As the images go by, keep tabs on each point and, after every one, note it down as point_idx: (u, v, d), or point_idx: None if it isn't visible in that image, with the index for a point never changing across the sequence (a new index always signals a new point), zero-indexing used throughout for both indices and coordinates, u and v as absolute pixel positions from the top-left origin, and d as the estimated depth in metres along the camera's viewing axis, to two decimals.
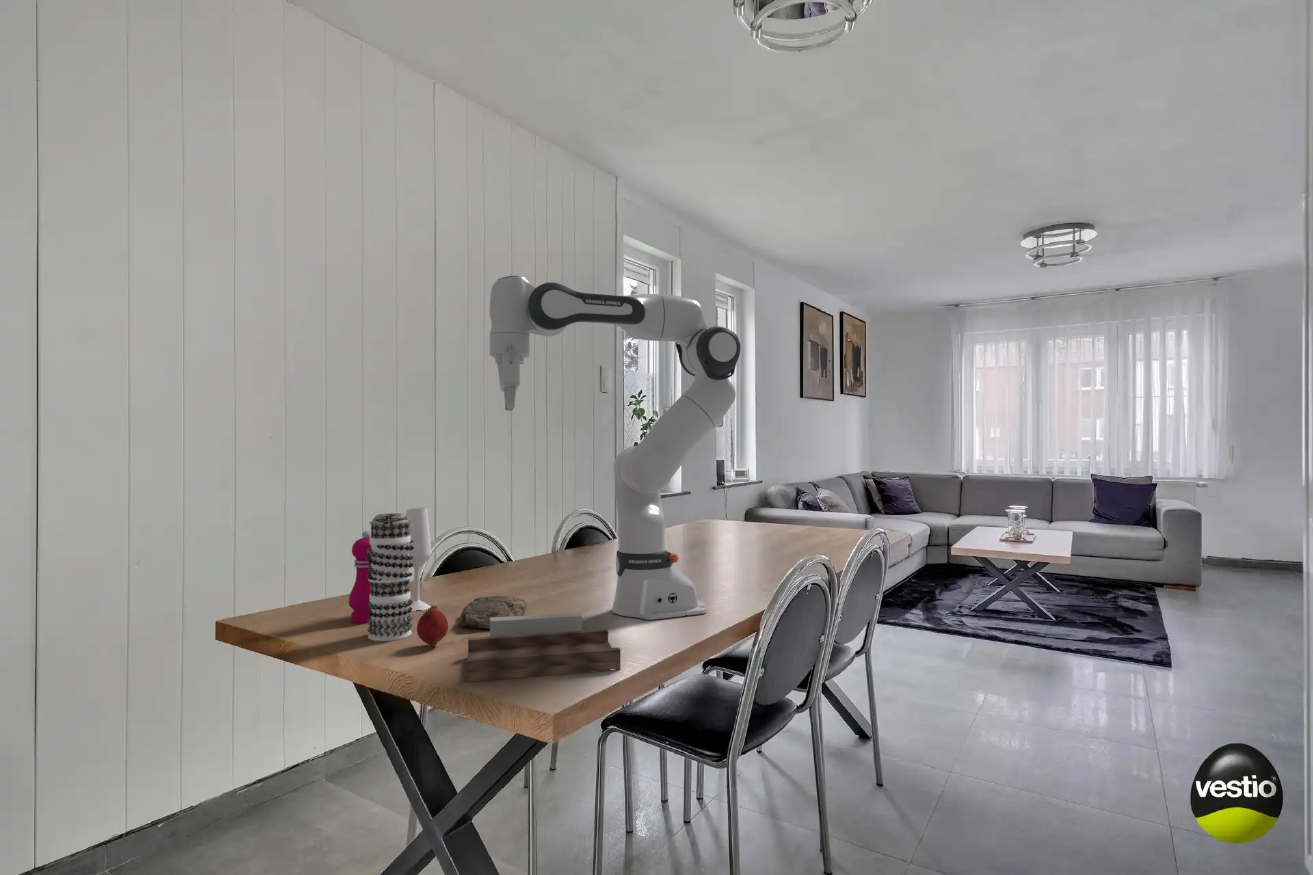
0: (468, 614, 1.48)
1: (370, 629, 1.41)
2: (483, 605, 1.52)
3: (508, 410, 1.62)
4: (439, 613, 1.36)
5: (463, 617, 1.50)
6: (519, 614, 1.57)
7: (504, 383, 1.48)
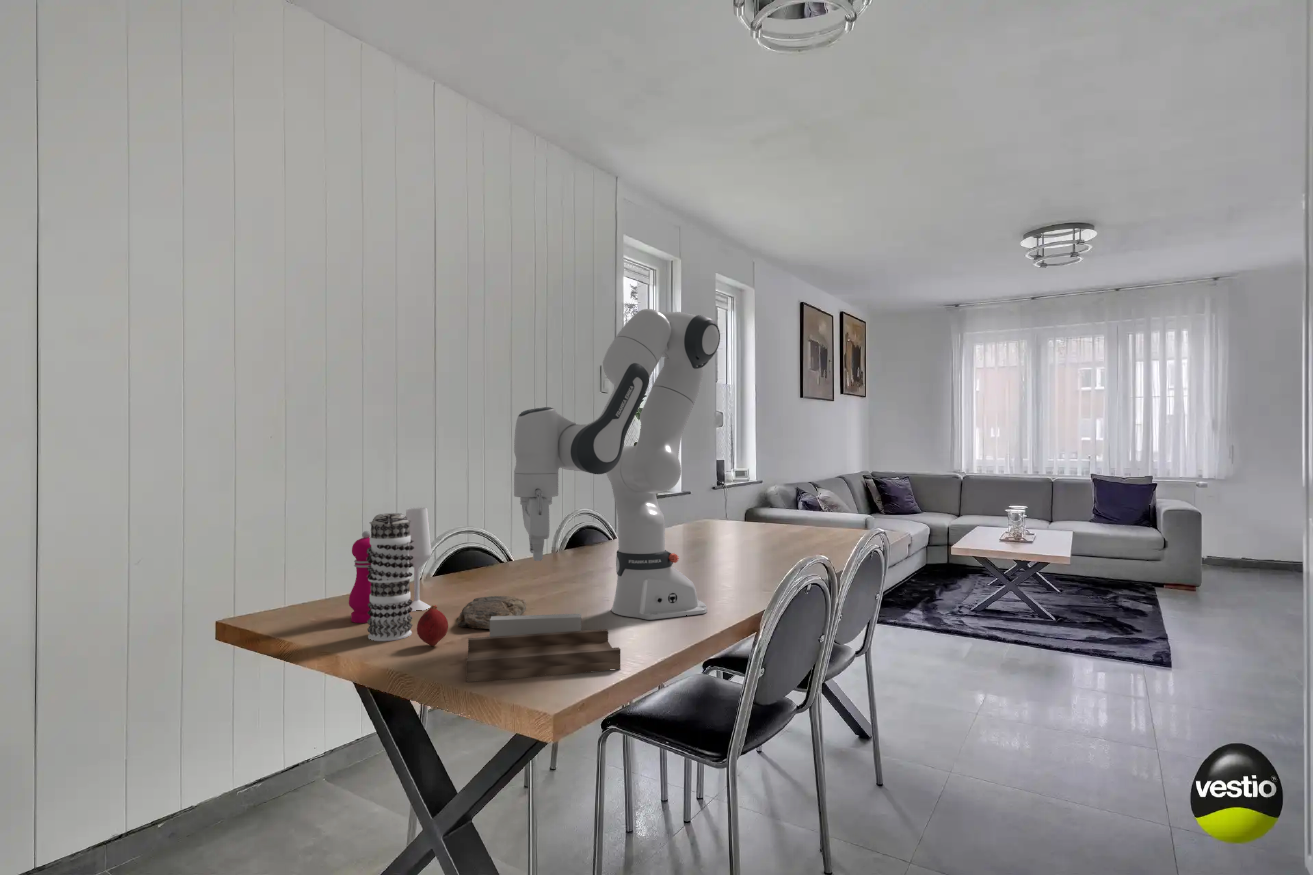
0: (467, 614, 1.48)
1: (370, 629, 1.41)
2: (482, 605, 1.52)
3: None
4: (439, 613, 1.36)
5: (462, 617, 1.50)
6: (518, 614, 1.57)
7: (532, 537, 1.31)
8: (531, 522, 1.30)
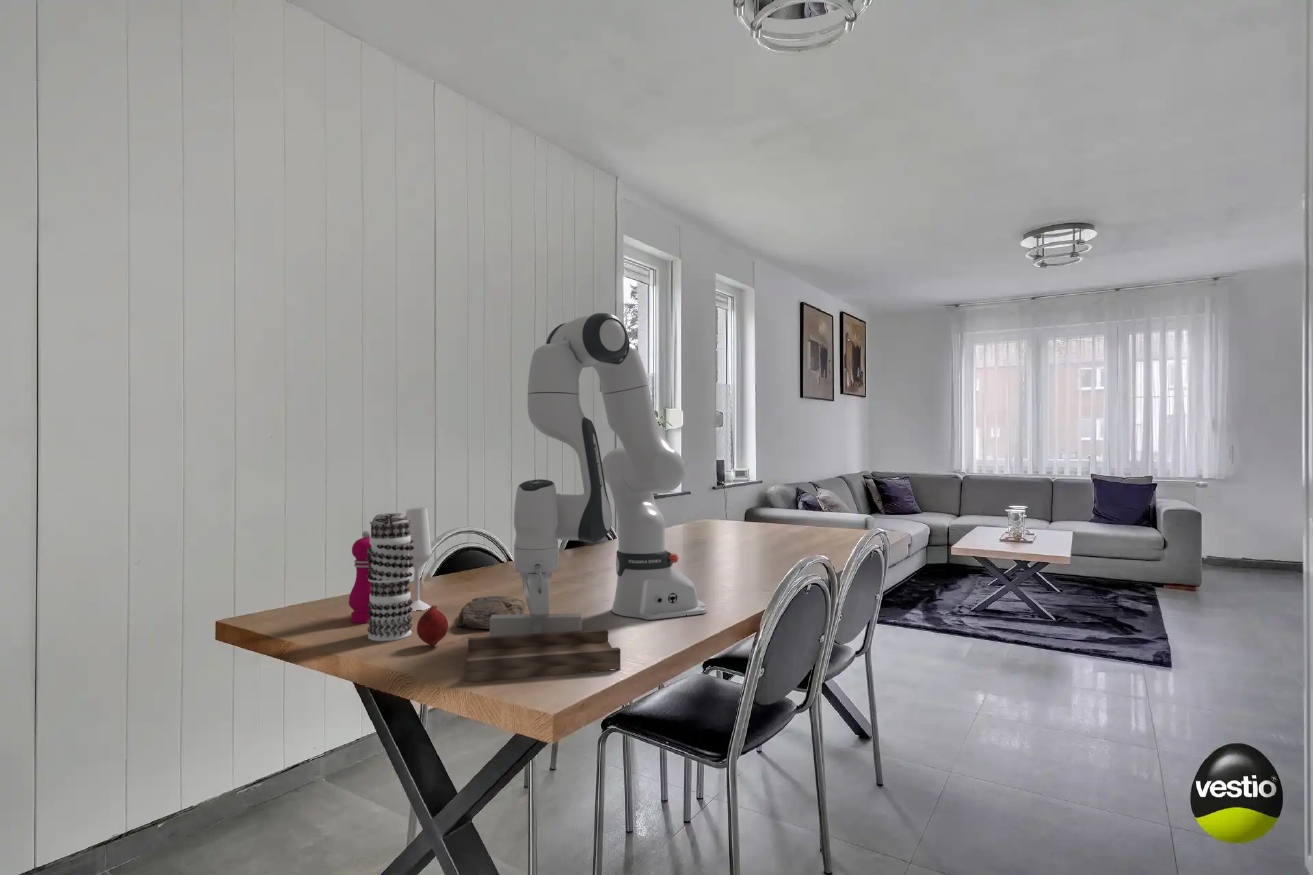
0: (465, 614, 1.48)
1: (370, 629, 1.41)
2: (481, 605, 1.52)
3: None
4: (439, 613, 1.36)
5: (461, 617, 1.50)
6: None
7: (532, 616, 1.30)
8: (531, 601, 1.30)
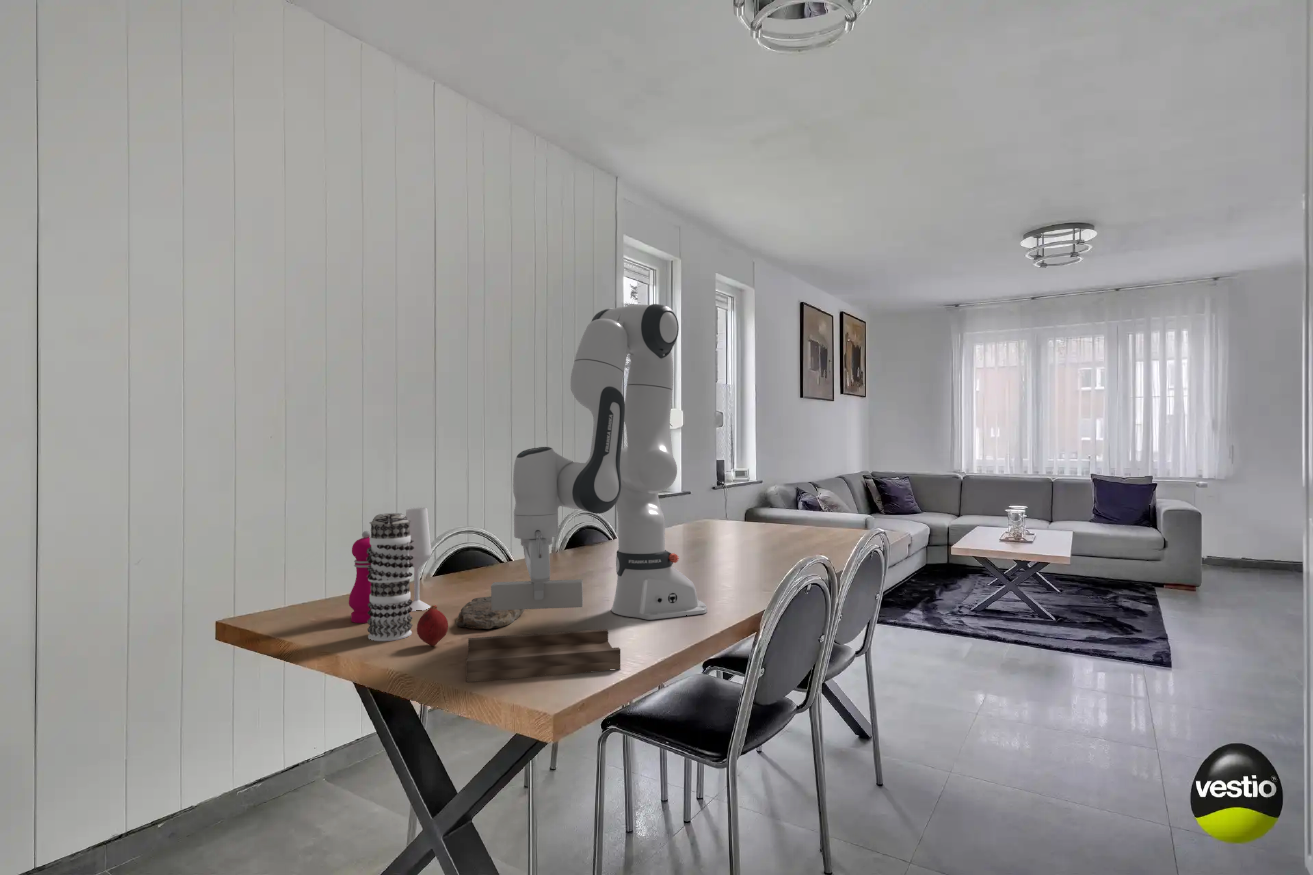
0: (466, 614, 1.48)
1: (370, 629, 1.41)
2: (481, 605, 1.52)
3: None
4: (439, 613, 1.36)
5: (461, 617, 1.50)
6: (517, 614, 1.57)
7: (533, 580, 1.31)
8: (531, 566, 1.31)
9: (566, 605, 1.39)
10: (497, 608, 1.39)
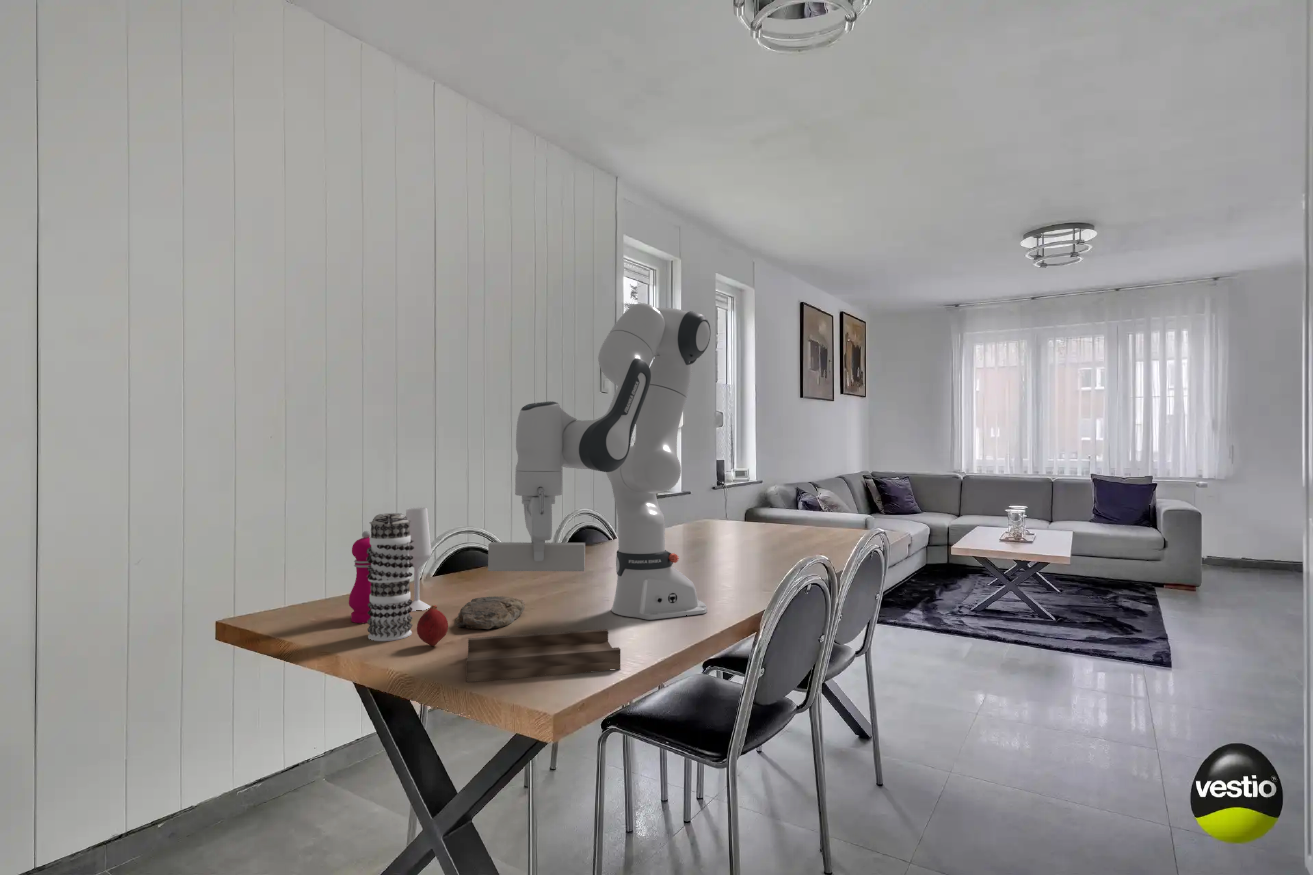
0: (465, 614, 1.47)
1: (370, 629, 1.41)
2: (480, 605, 1.52)
3: None
4: (439, 613, 1.36)
5: (460, 617, 1.50)
6: (516, 614, 1.57)
7: (533, 538, 1.23)
8: (532, 522, 1.23)
9: (567, 568, 1.32)
10: (494, 569, 1.31)
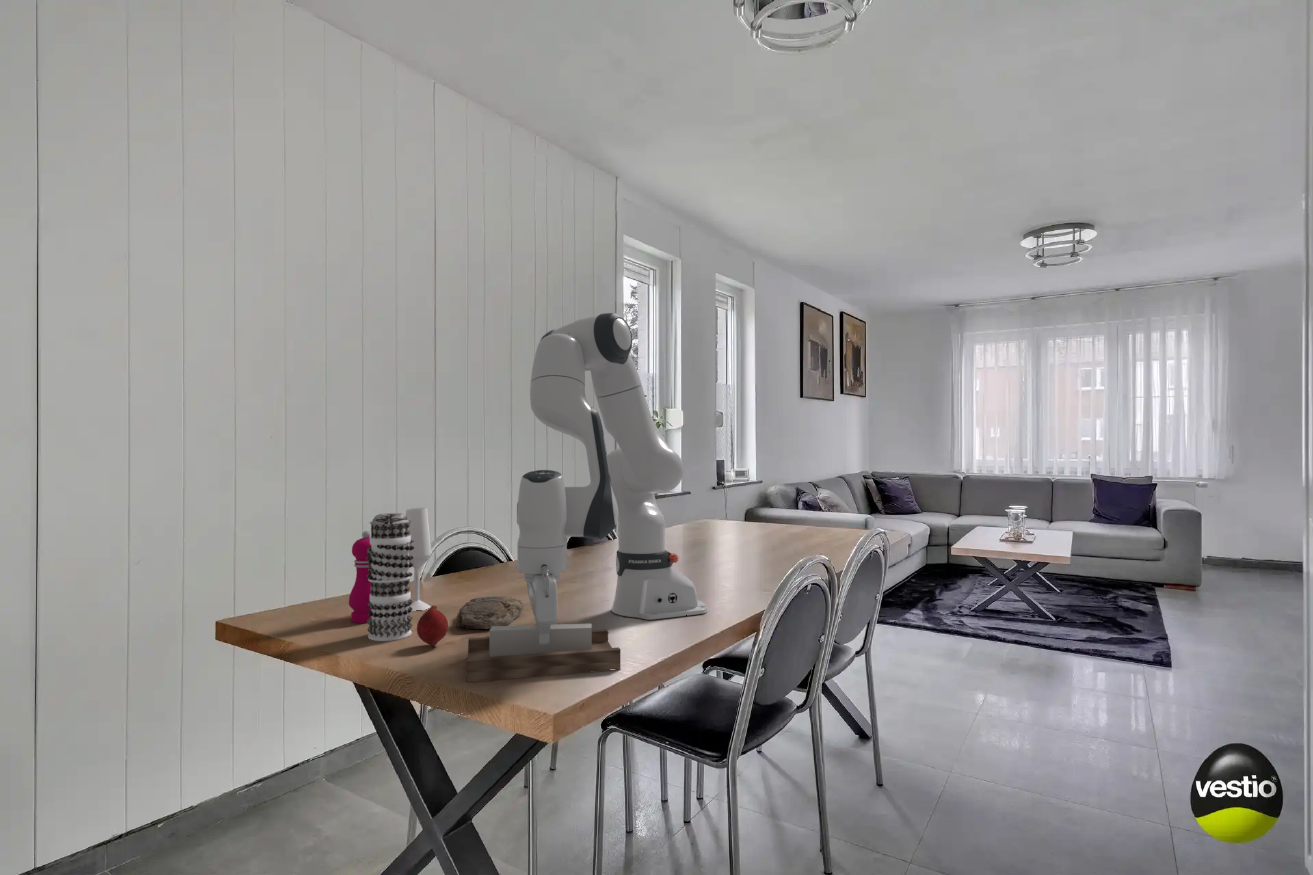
0: (464, 614, 1.47)
1: (370, 629, 1.41)
2: (479, 605, 1.52)
3: None
4: (439, 613, 1.36)
5: (459, 617, 1.50)
6: (515, 614, 1.57)
7: (538, 623, 1.16)
8: (537, 606, 1.16)
9: None
10: None
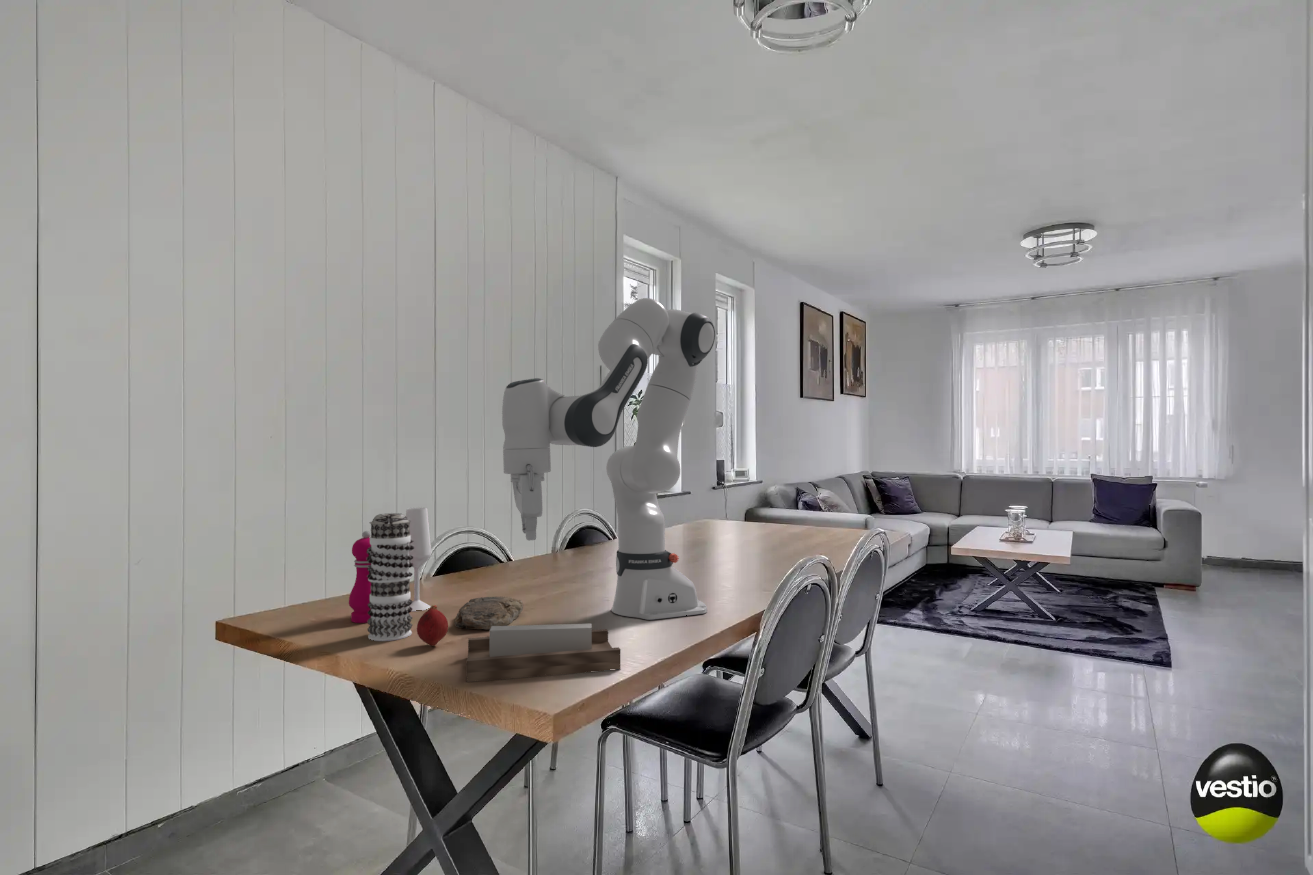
0: (464, 615, 1.47)
1: (370, 629, 1.41)
2: (479, 606, 1.52)
3: None
4: (439, 613, 1.36)
5: (459, 618, 1.50)
6: (515, 615, 1.56)
7: (524, 515, 1.23)
8: (523, 499, 1.23)
9: None
10: None
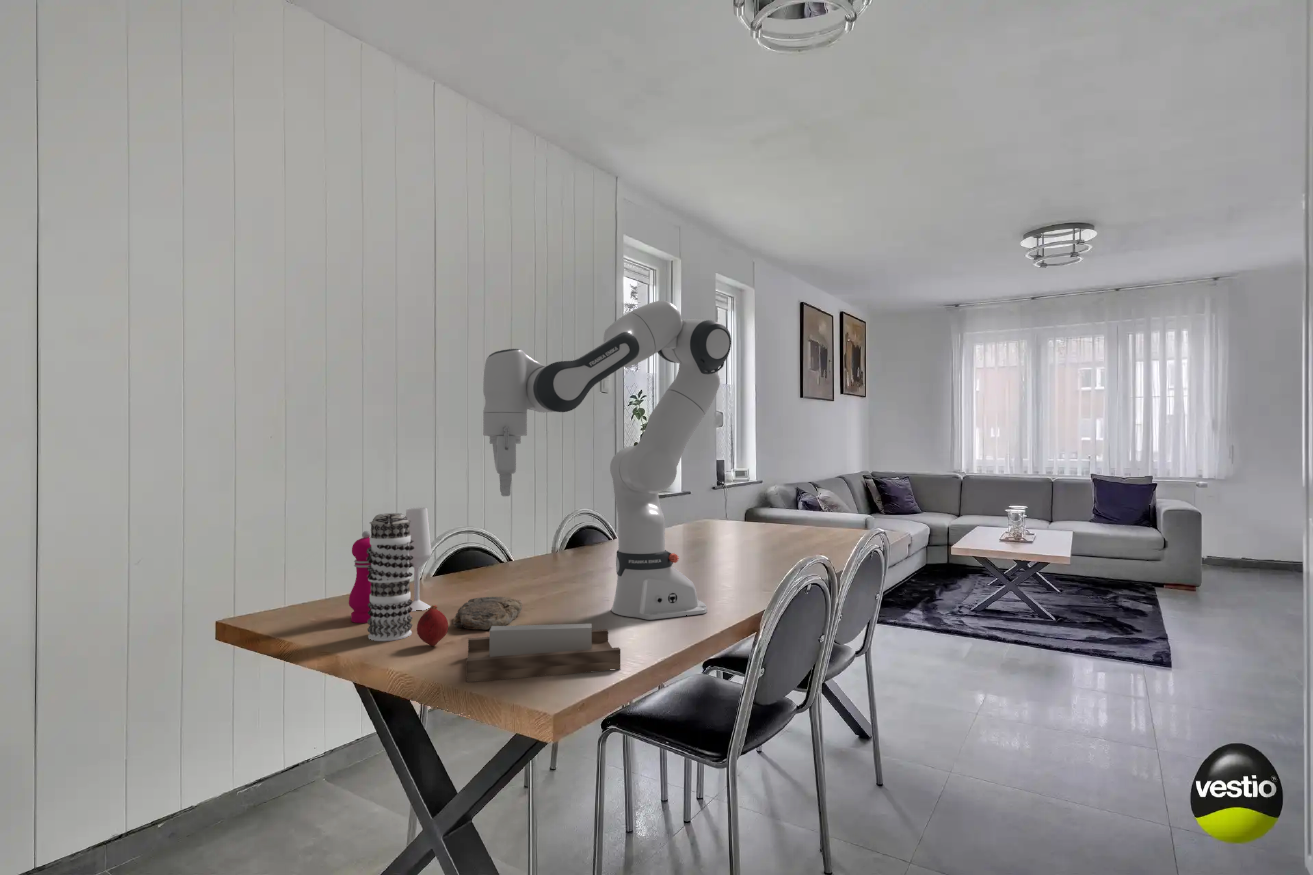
0: (463, 615, 1.47)
1: (370, 629, 1.41)
2: (478, 606, 1.52)
3: None
4: (439, 613, 1.36)
5: (458, 618, 1.49)
6: (514, 615, 1.56)
7: (498, 471, 1.34)
8: (498, 456, 1.34)
9: None
10: None
